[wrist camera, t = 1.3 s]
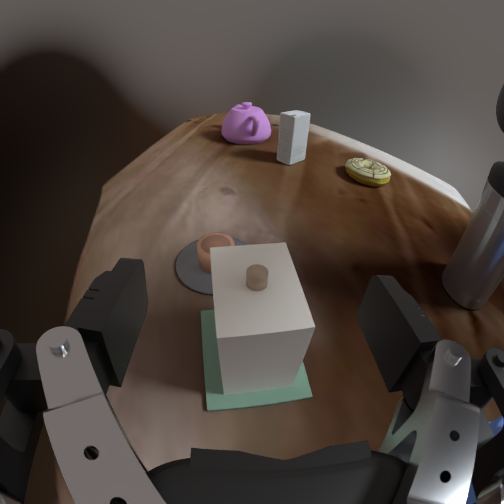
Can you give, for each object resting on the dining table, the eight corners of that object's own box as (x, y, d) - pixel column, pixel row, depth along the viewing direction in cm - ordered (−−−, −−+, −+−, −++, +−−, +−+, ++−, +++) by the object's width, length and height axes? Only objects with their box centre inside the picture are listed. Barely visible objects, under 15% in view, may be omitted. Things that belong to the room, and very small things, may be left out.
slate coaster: (209, 229, 45) (209, 227, 44) (272, 256, 41) (272, 254, 40) (159, 271, 37) (159, 269, 37) (226, 309, 33) (226, 307, 33)
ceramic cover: (216, 319, 32) (209, 236, 24) (274, 314, 32) (287, 231, 25) (223, 394, 25) (215, 327, 17) (292, 386, 26) (318, 316, 18)
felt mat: (200, 312, 33) (200, 310, 32) (285, 304, 34) (286, 302, 34) (207, 411, 24) (207, 410, 24) (311, 397, 25) (312, 396, 25)
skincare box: (291, 154, 69) (296, 109, 61) (305, 160, 67) (311, 113, 59) (275, 160, 66) (278, 111, 58) (289, 166, 64) (295, 116, 56)
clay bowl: (213, 245, 41) (212, 228, 39) (241, 258, 39) (241, 240, 37) (191, 265, 38) (189, 247, 36) (220, 279, 36) (219, 262, 34)
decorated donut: (360, 165, 68) (363, 152, 66) (395, 184, 62) (399, 170, 59) (335, 172, 63) (338, 158, 61) (372, 193, 57) (377, 178, 54)
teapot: (257, 126, 87) (259, 95, 80) (280, 147, 73) (283, 109, 66) (215, 129, 84) (214, 97, 77) (229, 151, 70) (229, 111, 63)
